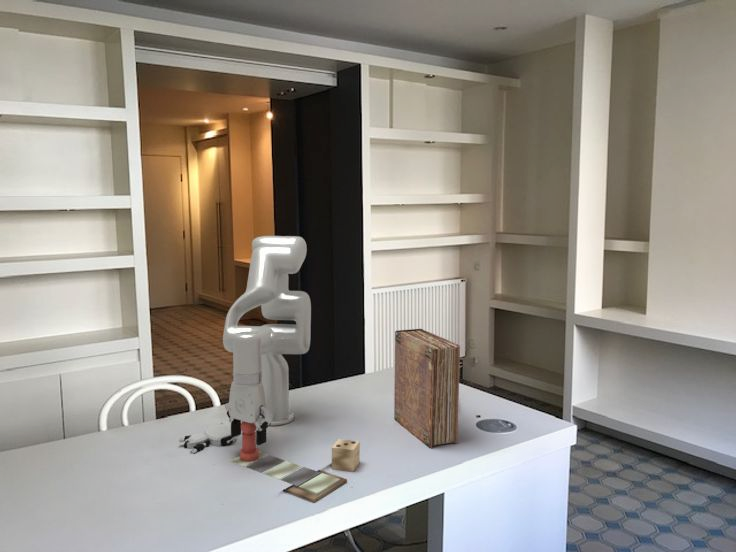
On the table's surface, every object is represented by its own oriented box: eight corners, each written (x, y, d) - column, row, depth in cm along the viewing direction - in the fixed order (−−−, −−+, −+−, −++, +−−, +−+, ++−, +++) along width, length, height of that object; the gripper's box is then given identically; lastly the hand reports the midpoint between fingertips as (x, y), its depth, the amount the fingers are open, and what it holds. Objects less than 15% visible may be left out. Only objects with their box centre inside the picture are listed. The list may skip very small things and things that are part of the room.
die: (331, 469, 158) (331, 447, 157) (338, 459, 164) (338, 438, 163) (353, 471, 157) (353, 449, 156) (359, 462, 162) (359, 440, 162)
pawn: (236, 458, 161) (235, 419, 159) (249, 452, 165) (248, 413, 164) (249, 463, 158) (248, 423, 157) (262, 456, 162) (261, 417, 161)
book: (457, 444, 175) (460, 345, 172) (430, 449, 172) (432, 347, 168) (418, 416, 198) (420, 328, 195) (393, 419, 195) (395, 330, 191)
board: (222, 467, 158) (221, 462, 158) (257, 451, 169) (257, 446, 169) (313, 502, 140) (313, 497, 140) (346, 482, 151) (346, 476, 151)
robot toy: (192, 463, 163) (242, 446, 172) (191, 448, 162) (241, 432, 171) (177, 448, 173) (225, 433, 182) (175, 433, 172) (224, 419, 181)
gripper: (215, 375, 160) (216, 436, 162) (260, 386, 151) (261, 451, 152) (236, 370, 167) (236, 429, 168) (281, 380, 157) (281, 442, 158)
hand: (248, 439), depth 160 cm, fingers open, 9 cm apart
